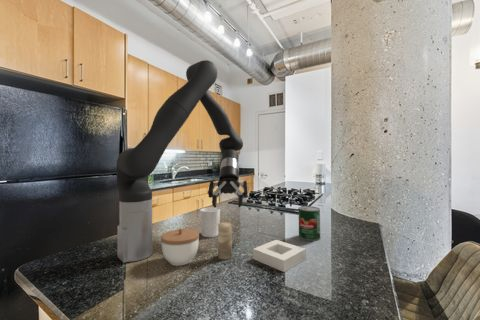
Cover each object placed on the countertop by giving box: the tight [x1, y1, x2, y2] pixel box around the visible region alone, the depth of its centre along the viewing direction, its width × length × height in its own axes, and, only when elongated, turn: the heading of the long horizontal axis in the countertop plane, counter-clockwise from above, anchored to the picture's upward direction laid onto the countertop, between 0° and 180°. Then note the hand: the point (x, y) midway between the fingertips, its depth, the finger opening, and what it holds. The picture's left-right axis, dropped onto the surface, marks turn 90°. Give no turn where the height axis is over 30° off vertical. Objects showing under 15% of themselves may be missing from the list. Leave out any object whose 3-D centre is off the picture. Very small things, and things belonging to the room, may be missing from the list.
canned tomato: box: [298, 205, 322, 242], centre depth 85 cm, size 8×8×11 cm
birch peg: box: [217, 221, 233, 261], centre depth 68 cm, size 4×4×10 cm
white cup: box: [199, 206, 221, 238], centre depth 88 cm, size 8×8×10 cm
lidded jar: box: [160, 227, 200, 267], centre depth 65 cm, size 11×11×9 cm
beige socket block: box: [252, 239, 307, 273], centre depth 66 cm, size 11×11×3 cm
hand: (227, 206), depth 77 cm, fingers open, 8 cm apart
